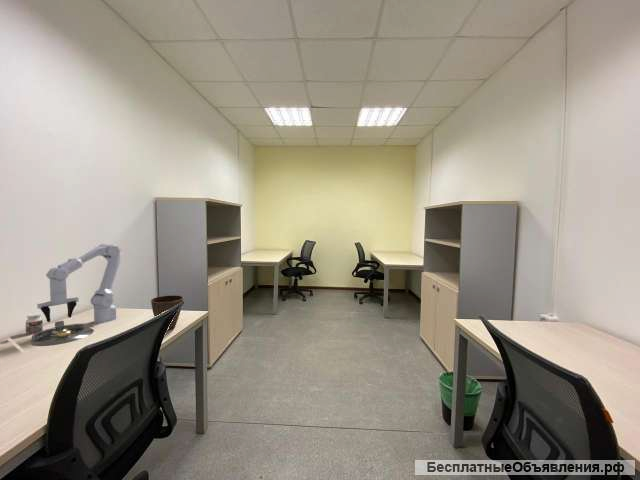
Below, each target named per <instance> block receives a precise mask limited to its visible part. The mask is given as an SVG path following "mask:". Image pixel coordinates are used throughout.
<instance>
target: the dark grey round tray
mask: <svg viewBox="0 0 640 480" xmlns="http://www.w3.org/2000/svg"><path fill="white" fill-rule="evenodd" d="M64 328H67V330H64V331H60V332H57V335H52V331H53V330H55V326H54V327H51V328H47V329H43V331H40V332H38V333H36V334H31V341H30V345H32V346H35V347H49V346H51V347H52V346H57V345H64V344H68V343H73V342H75V341H78V340H82V339H85V338H86V337H89V336H90V335H92V334H93V333H94V331H95V330H94V329H93V328H91V327H85V323H84V322H83V323H71V324H64Z"/></svg>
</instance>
